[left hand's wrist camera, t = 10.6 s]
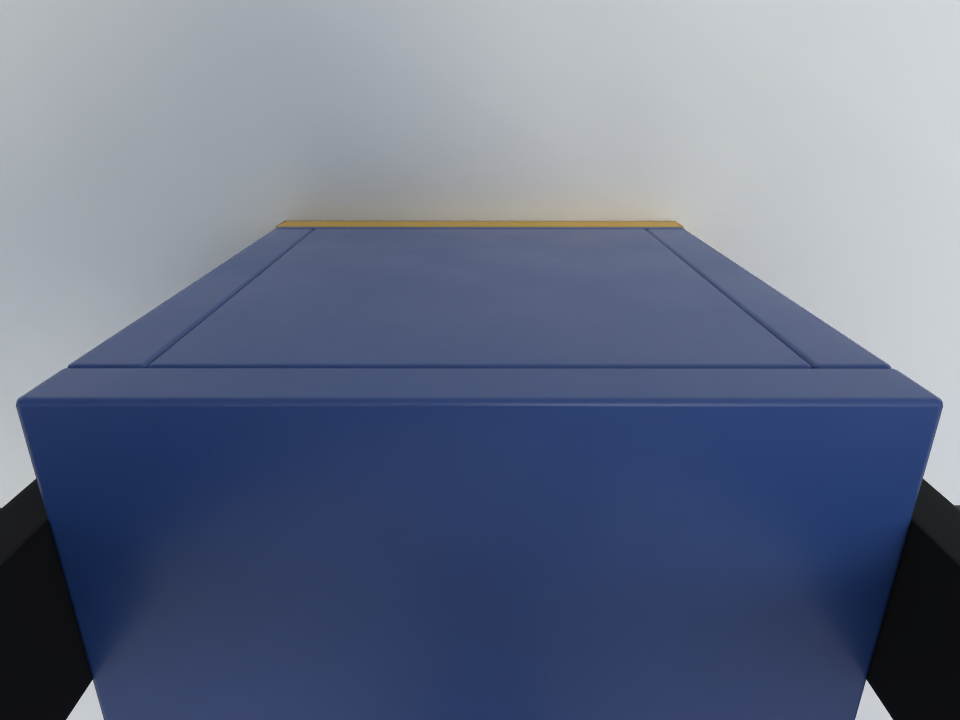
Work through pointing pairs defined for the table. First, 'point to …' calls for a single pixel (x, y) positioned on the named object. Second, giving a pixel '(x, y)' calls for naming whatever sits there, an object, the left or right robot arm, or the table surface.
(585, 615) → the cabinet
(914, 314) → the table surface
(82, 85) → the table surface
